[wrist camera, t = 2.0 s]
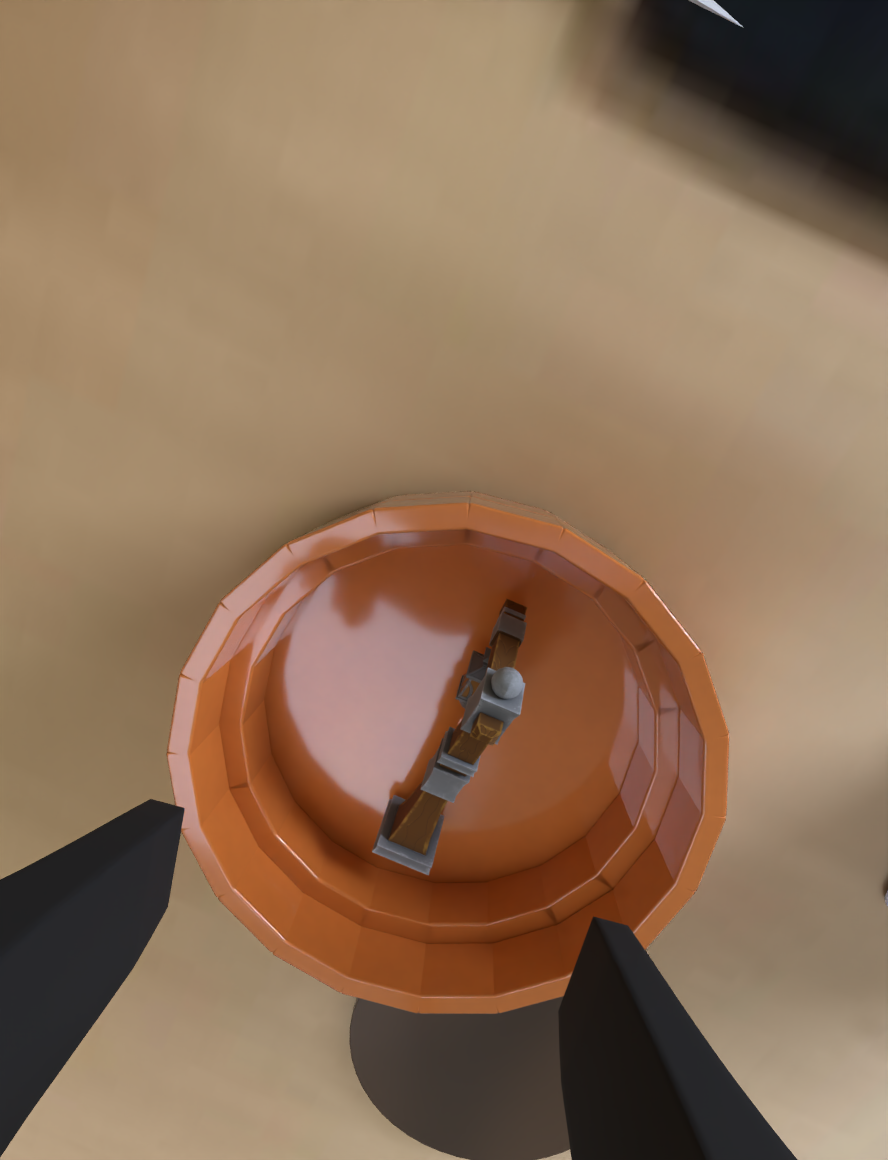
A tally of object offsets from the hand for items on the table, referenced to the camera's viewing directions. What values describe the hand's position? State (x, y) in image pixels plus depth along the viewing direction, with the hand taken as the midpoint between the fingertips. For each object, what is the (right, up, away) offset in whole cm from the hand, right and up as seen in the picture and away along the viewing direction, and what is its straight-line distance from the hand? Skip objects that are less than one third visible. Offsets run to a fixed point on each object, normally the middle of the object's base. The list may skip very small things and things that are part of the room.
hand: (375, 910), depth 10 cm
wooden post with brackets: (+1, +1, +8) cm, 8 cm away
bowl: (+1, +1, +8) cm, 9 cm away
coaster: (+3, -10, +11) cm, 15 cm away
